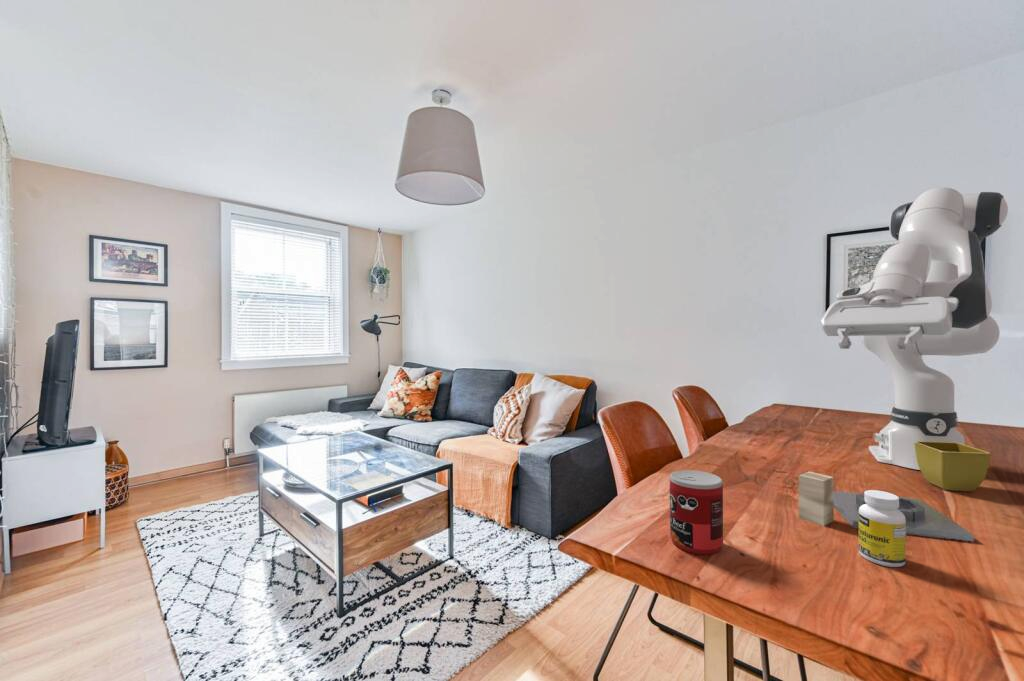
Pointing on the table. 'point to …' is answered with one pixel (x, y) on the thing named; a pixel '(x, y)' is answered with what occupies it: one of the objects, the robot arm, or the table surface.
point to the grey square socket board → (906, 517)
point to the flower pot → (952, 464)
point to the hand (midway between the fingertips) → (872, 347)
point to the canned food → (696, 511)
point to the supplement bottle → (882, 529)
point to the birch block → (816, 498)
